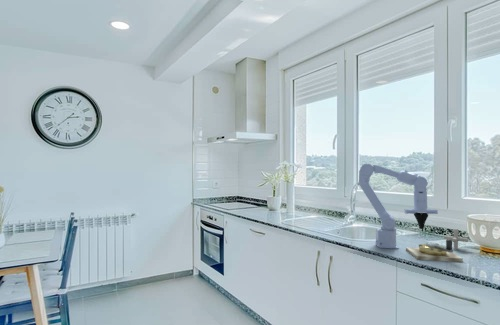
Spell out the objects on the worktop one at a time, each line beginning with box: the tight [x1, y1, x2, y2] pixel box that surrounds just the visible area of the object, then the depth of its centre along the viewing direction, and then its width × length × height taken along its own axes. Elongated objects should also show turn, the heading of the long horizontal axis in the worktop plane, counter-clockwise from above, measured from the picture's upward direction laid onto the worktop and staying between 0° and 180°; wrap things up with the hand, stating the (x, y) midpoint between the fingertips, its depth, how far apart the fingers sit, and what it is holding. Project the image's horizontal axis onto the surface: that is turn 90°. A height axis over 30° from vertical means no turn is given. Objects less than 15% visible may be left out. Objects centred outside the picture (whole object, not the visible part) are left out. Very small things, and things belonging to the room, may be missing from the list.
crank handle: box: [418, 239, 454, 256], centre depth 141 cm, size 16×11×8 cm
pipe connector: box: [443, 228, 469, 250], centre depth 156 cm, size 10×10×10 cm
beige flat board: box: [405, 246, 464, 263], centre depth 144 cm, size 18×16×2 cm
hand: (421, 228), depth 155 cm, fingers closed
